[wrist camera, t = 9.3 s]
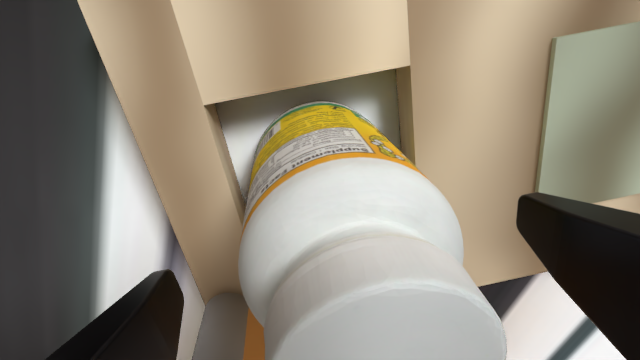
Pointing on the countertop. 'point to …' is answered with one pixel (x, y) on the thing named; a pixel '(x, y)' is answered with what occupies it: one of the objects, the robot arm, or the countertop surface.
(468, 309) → the supplement bottle
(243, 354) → the clip bar
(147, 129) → the socket board
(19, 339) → the countertop surface
